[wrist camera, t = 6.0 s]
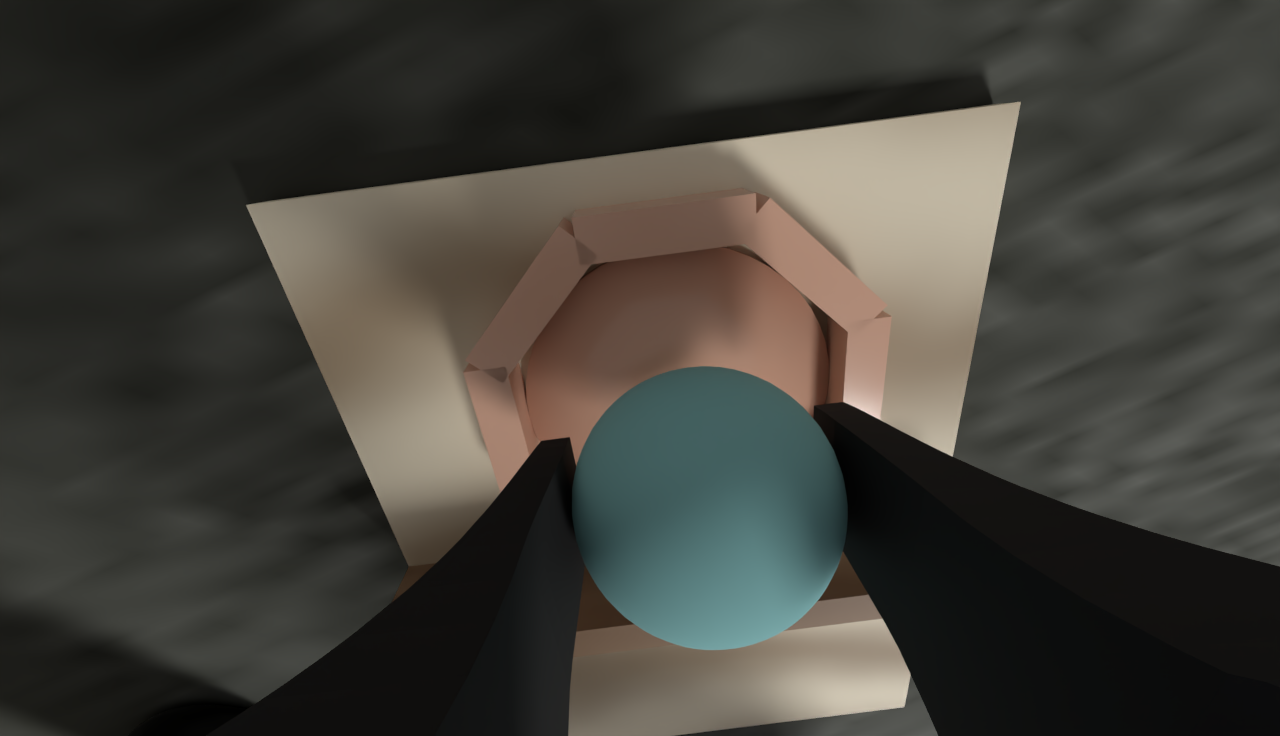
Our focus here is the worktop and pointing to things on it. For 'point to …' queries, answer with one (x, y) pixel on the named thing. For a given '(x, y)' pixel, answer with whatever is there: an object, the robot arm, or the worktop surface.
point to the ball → (709, 508)
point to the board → (519, 228)
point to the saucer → (670, 318)
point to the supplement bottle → (187, 721)
